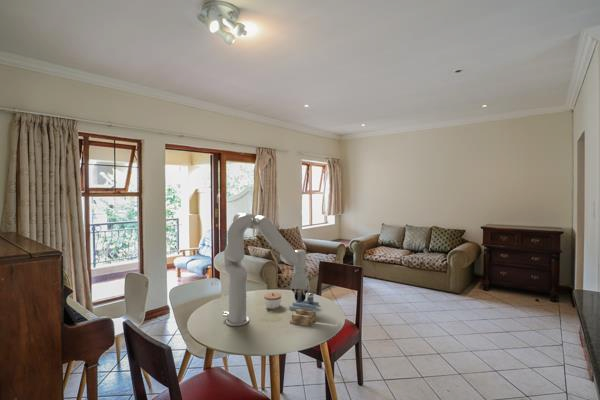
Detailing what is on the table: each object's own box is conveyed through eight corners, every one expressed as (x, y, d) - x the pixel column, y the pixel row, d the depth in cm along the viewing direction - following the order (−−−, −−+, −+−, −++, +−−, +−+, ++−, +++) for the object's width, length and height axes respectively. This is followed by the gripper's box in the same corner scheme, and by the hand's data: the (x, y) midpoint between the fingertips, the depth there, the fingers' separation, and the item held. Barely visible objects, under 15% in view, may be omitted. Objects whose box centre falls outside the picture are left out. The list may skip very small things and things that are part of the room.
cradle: (289, 323, 162) (289, 314, 162) (296, 316, 171) (296, 308, 171) (310, 326, 158) (310, 318, 158) (316, 319, 167) (316, 311, 167)
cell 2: (306, 306, 183) (306, 293, 183) (308, 304, 186) (308, 291, 186) (312, 307, 182) (312, 294, 181) (314, 305, 185) (314, 292, 185)
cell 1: (298, 299, 182) (298, 286, 182) (304, 300, 181) (304, 287, 181) (296, 301, 179) (296, 288, 179) (302, 302, 178) (302, 289, 177)
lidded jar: (283, 305, 188) (283, 290, 188) (279, 311, 177) (279, 296, 177) (266, 304, 190) (266, 289, 190) (261, 310, 179) (261, 295, 179)
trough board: (288, 311, 179) (288, 306, 179) (295, 303, 191) (295, 299, 191) (313, 314, 173) (313, 309, 173) (319, 306, 186) (319, 302, 186)
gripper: (314, 269, 180) (315, 299, 181) (289, 267, 186) (289, 296, 186) (311, 272, 173) (311, 303, 174) (284, 270, 179) (285, 300, 179)
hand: (300, 299), depth 180 cm, fingers closed on cell 1, 3 cm apart
